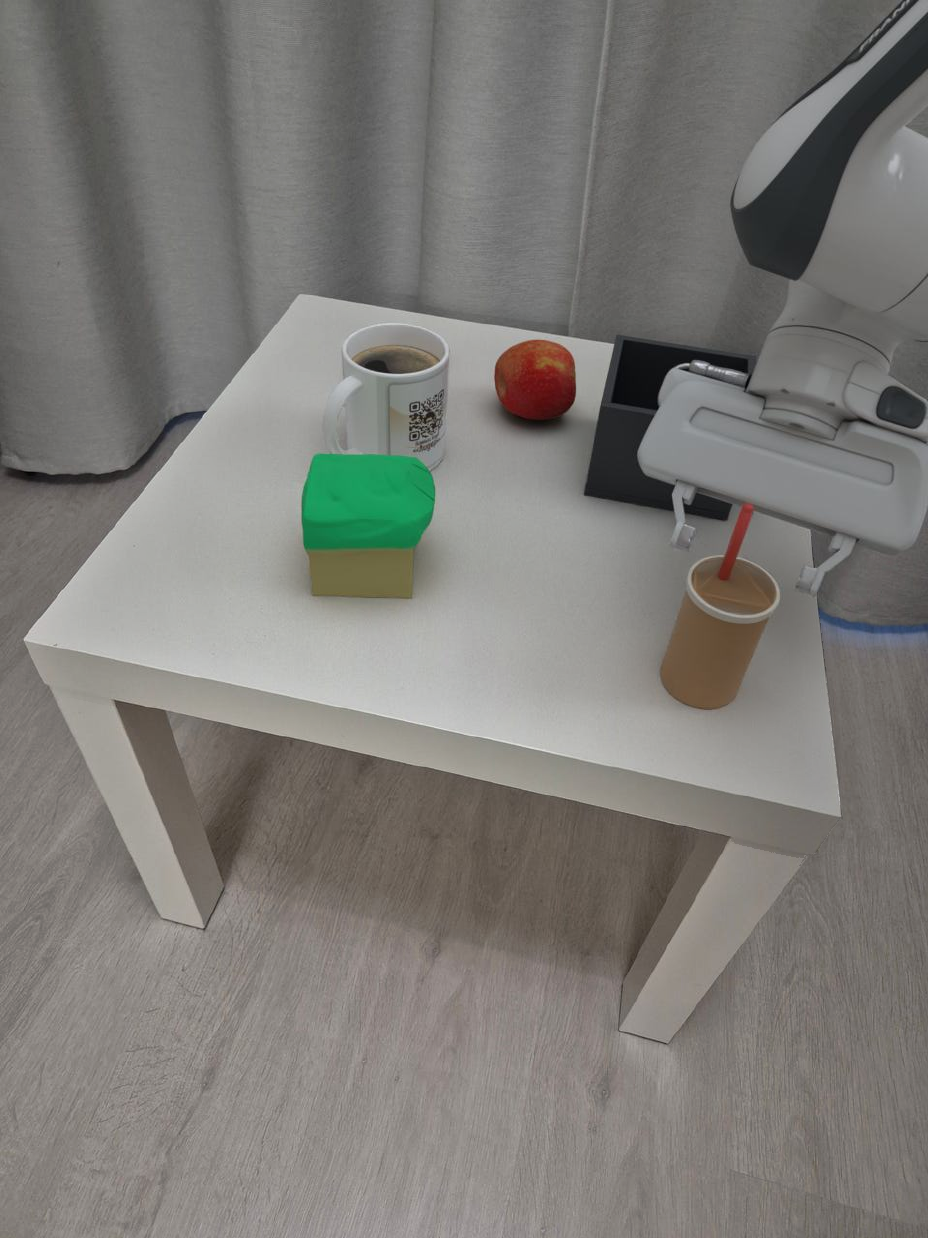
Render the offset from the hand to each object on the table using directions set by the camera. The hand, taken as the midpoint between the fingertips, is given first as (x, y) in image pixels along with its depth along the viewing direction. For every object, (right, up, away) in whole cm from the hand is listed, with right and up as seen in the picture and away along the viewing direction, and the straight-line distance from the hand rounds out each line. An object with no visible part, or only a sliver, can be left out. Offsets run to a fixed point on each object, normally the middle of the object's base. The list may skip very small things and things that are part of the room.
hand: (740, 570), depth 64 cm
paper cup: (-2, -8, +4) cm, 9 cm away
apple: (-13, +18, +29) cm, 37 cm away
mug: (-28, +13, +23) cm, 38 cm away
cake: (-28, +1, +11) cm, 30 cm away
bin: (-1, +12, +24) cm, 26 cm away
